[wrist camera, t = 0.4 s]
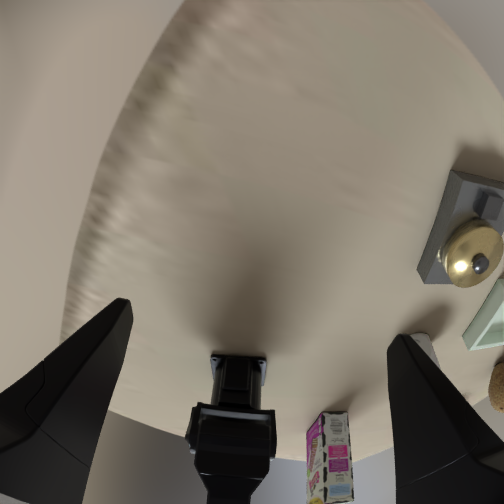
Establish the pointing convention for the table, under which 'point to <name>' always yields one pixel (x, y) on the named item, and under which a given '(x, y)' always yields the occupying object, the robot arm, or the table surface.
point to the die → (426, 345)
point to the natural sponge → (497, 388)
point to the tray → (488, 322)
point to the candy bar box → (329, 460)
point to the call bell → (465, 232)
